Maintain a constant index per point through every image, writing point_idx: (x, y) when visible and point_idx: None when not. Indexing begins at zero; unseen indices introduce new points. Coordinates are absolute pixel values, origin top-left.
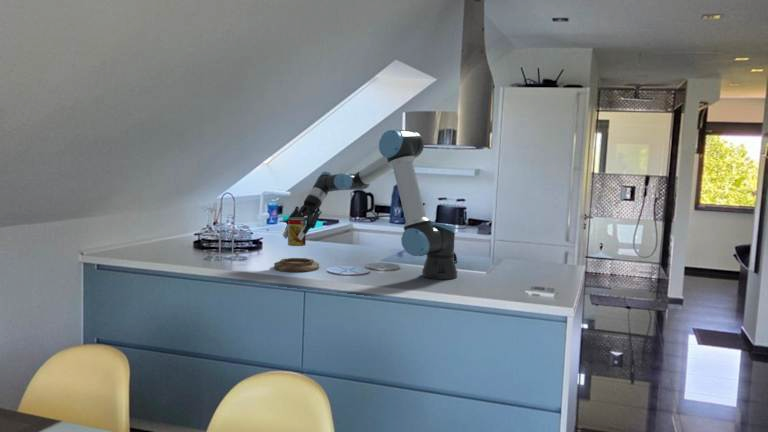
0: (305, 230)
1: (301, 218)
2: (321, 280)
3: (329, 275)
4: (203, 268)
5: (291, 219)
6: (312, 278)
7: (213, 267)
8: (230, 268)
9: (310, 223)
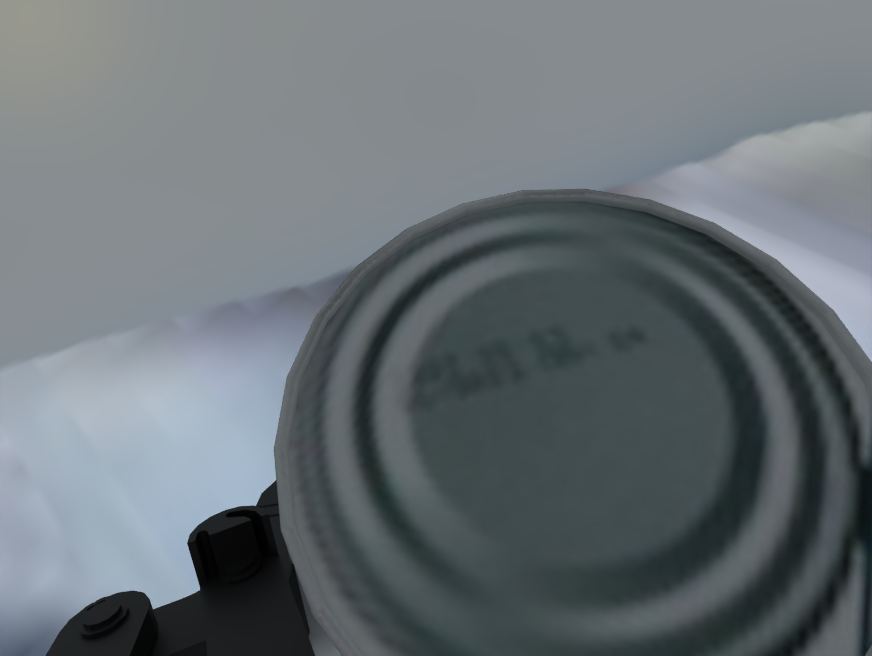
0: (265, 500)
1: (566, 622)
2: (36, 383)
3: (62, 558)
4: (850, 132)
5: (504, 198)
6: (122, 384)
7: (861, 178)
8: (774, 225)
9: (128, 624)
